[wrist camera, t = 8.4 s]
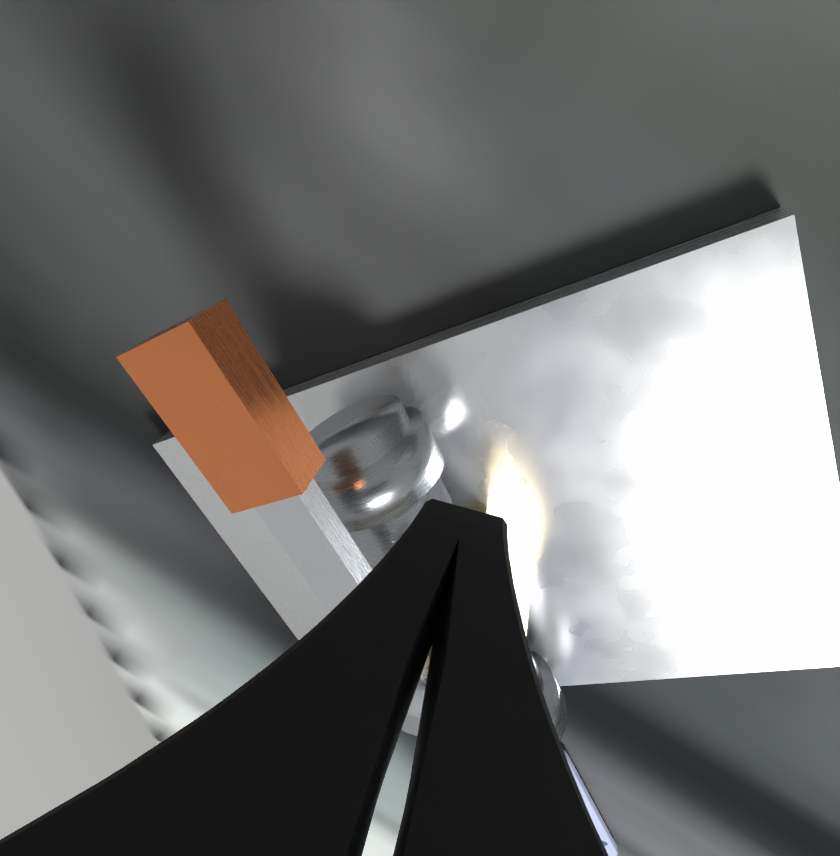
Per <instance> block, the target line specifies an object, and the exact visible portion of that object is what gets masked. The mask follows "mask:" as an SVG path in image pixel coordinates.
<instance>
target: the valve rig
mask: <svg viewBox="0 0 840 856" xmlns="http://www.w3.org/2000/svg"><path fill="white" fill-rule="evenodd" d="M283 392H284V393H285V395H286V396H287V398H288V400H289V401H290V403H291V404H292V406H293V408H294V409H295V411H296V412H297V414H298V416H299V417H300V419H301V420H302V422H303V424H304V425H305V427H306V429H307V430H308V432H309V433H310V435H311V437H312V438H313V440H314V441H315V443H316V445H317V446H318V448H319V449H320V451H321V453H322V454H323V456H324V457H325V459H326V460H325V462H324V463H323V465H322V466H321V468H320V469H319V471H318V472H317V474H316V475H315V477H314V480H315V482H316V483H317V485H318V486H319V488H320V489H321V491H322V492H323V494H324V495H325V497H326V499H327V500H328V502H329V503H330V505H331V506H332V508H333V509H334V511H335V513H336V514H337V516H338V517H339V519H340V520H341V522H342V523H343V525H344V526H345V528H346V530H347V531H348V533H349V534H350V536H351V537H352V539H353V540H354V542H355V544H356V545H357V547H358V548H359V550H360V551H361V553H362V554H363V556H364V557H365V559H366V561H367V562H368V564H369V565H370V567H371V568H372V569H373V568H374V567H375V566H376V565H377V564H378V563H379V562H380V561H381V560H382V558H383V557H384V556H385V555H386V554H387V553H388V552H389V551H390V549H391V548H392V547H393V546H394V545H395V543H396V542H397V541H398V540H399V538H400V537H401V536H402V535H403V534H404V532H405V531H406V530H407V528H408V527H409V526H410V524H411V523H412V522H413V520H414V519H415V517H416V516H417V514H418V513H419V511H420V510H421V508H422V506H423V505H424V503H425V502H426V501H428V500H431V499H436V500H439V501H443V502H447V503H450V504H454V505H458V506H461V507H465V508H469V509H472V510H476V511H480V512H483V513H487V514H491V515H495V516H498V517H502V518H503V519H504V520H505V522H506V523H507V534H508V547H509V556H510V563H511V569H512V575H513V581H514V586H515V591H516V596H517V601H518V605H519V609H520V613H521V617H522V621H523V626H524V630H525V634H526V638H527V641H528V645H529V649H530V652H531V656H532V659H533V663H534V666H535V669H536V672H537V676H538V679H539V682H540V685H541V689H542V692H543V695H544V698H545V701H546V704H547V707H548V710H549V713H550V715H551V718H552V721H553V724H554V727H555V729H556V732H557V735H558V737H559V740H561V738H562V736H563V734H564V731H565V728H566V724H567V705H566V701H565V698H564V695H563V693H562V691H561V689H560V687H559V686H569V685H583V684H597V683H611V682H626V681H640V680H654V679H668V678H682V677H696V676H710V675H724V674H739V673H753V672H767V671H781V670H795V669H809V668H823V667H837V666H840V488H839V482H838V476H837V470H836V464H835V458H834V452H833V446H832V440H831V434H830V428H829V422H828V416H827V410H826V404H825V398H824V392H823V385H822V379H821V373H820V367H819V361H818V355H817V349H816V343H815V337H814V331H813V325H812V319H811V313H810V307H809V301H808V295H807V289H806V283H805V277H804V271H803V265H802V259H801V253H800V247H799V241H798V235H797V229H796V223H795V217H794V214H792V213H791V212H789V211H787V210H786V209H784V208H782V207H779V208H777V209H774V210H771V211H769V212H766V213H763V214H760V215H758V216H755V217H752V218H749V219H747V220H744V221H741V222H739V223H736V224H733V225H730V226H728V227H725V228H722V229H719V230H717V231H714V232H711V233H709V234H706V235H703V236H700V237H698V238H695V239H692V240H689V241H687V242H684V243H681V244H679V245H676V246H673V247H670V248H668V249H665V250H662V251H659V252H657V253H654V254H651V255H649V256H646V257H643V258H640V259H638V260H635V261H632V262H629V263H627V264H624V265H621V266H619V267H616V268H613V269H610V270H608V271H605V272H602V273H599V274H597V275H594V276H591V277H589V278H586V279H583V280H580V281H578V282H575V283H572V284H569V285H567V286H564V287H561V288H559V289H556V290H553V291H550V292H548V293H545V294H542V295H539V296H537V297H534V298H531V299H529V300H526V301H523V302H520V303H518V304H515V305H512V306H509V307H507V308H504V309H501V310H499V311H496V312H493V313H490V314H488V315H485V316H482V317H479V318H477V319H474V320H471V321H469V322H466V323H463V324H460V325H458V326H455V327H452V328H449V329H447V330H444V331H441V332H439V333H436V334H433V335H430V336H428V337H425V338H422V339H419V340H417V341H414V342H411V343H409V344H406V345H403V346H400V347H398V348H395V349H392V350H389V351H387V352H384V353H381V354H379V355H376V356H373V357H370V358H368V359H365V360H362V361H360V362H357V363H354V364H351V365H349V366H346V367H343V368H340V369H338V370H335V371H332V372H330V373H327V374H324V375H321V376H319V377H316V378H313V379H310V380H308V381H305V382H302V383H300V384H297V385H294V386H291V387H289V388H286V389H283ZM153 446H154V448H155V449H156V450H157V452H158V453H159V454H160V456H161V457H162V458H163V460H164V461H165V462H166V464H167V465H168V466H169V468H170V469H171V470H172V472H173V473H174V474H175V476H176V477H177V478H178V480H179V481H180V482H181V484H182V485H183V486H184V488H185V489H186V490H187V492H188V493H189V494H190V496H191V497H192V498H193V500H194V501H195V503H196V504H197V505H198V507H199V508H200V509H201V511H202V512H203V513H204V515H205V516H206V517H207V519H208V520H209V521H210V523H211V524H212V525H213V527H214V528H215V529H216V531H217V532H218V533H219V535H220V536H221V537H222V539H223V540H224V541H225V543H226V544H227V545H228V547H229V548H230V549H231V551H232V552H233V553H234V555H235V556H236V557H237V559H238V560H239V561H240V563H241V564H242V565H243V567H244V568H245V569H246V571H247V572H248V573H249V575H250V576H251V577H252V579H253V580H254V581H255V583H256V584H257V585H258V587H259V588H260V589H261V591H262V592H263V593H264V595H265V596H266V597H267V599H268V600H269V601H270V603H271V604H272V605H273V607H274V608H275V609H276V611H277V612H278V613H279V615H280V616H281V617H282V619H283V620H284V621H285V623H286V624H287V626H288V627H289V628H290V630H291V631H292V632H293V634H294V635H295V636H296V638H297V639H298V640H300V639H301V638H302V637H303V636H305V635H306V634H307V633H308V632H309V631H310V630H311V629H312V628H314V627H315V626H316V625H317V624H318V623H319V622H320V621H321V620H322V619H324V618H325V617H326V616H327V615H328V614H329V612H328V611H327V609H326V608H325V607H324V605H323V604H322V602H321V601H320V600H319V598H318V597H317V595H316V594H315V593H314V591H313V590H312V589H311V587H310V586H309V584H308V583H307V582H306V580H305V579H304V577H303V576H302V575H301V573H300V572H299V570H298V569H297V568H296V566H295V565H294V563H293V562H292V561H291V559H290V558H289V556H288V555H287V554H286V552H285V551H284V549H283V548H282V547H281V545H280V544H279V542H278V541H277V540H276V538H275V537H274V535H273V534H272V533H271V531H270V530H269V528H268V527H267V526H266V524H265V523H264V521H263V520H262V519H261V517H260V516H259V514H258V513H257V512H256V510H255V509H254V508H251V509H248V510H244V511H240V512H237V513H233V514H232V513H231V512H230V511H229V509H228V508H227V507H226V505H225V504H224V503H223V501H222V500H221V498H220V497H219V496H218V494H217V493H216V492H215V490H214V489H213V488H212V486H211V485H210V484H209V482H208V481H207V480H206V478H205V477H204V475H203V474H202V473H201V471H200V470H199V469H198V467H197V466H196V465H195V463H194V462H193V461H192V459H191V458H190V457H189V455H188V454H187V452H186V451H185V450H184V448H183V447H182V446H181V444H180V443H179V442H178V440H177V439H176V438H175V436H174V435H173V434H172V432H171V431H169V432H167V433H166V434H165V435H163V436H162V437H161V438H160V439H159V440H158V441H156V442H155V443H154V444H153ZM431 649H432V647H431ZM429 655H431V650H430V652H429Z"/></svg>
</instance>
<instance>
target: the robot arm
mask: <svg viewBox="0 0 840 856" xmlns="http://www.w3.org/2000/svg"><path fill="white" fill-rule="evenodd" d="M431 647H432V649H431ZM430 650H431V655H430V661H429V668H428V674H427V680H426V686H425V692H424V698H423V704H422V711H421V717H420V723H419V729H418V735H417V742H416V748H415V754H414V760H413V766H412V772H411V779H410V784H409V789H408V794H407V799H406V804H405V809H404V813H403V817H402V822H401V826H400V830H399V834H398V838H397V842H396V846H395V850H394V854H393V856H616V855H617V845H616V844H615V842H614V840H613V838H612V836H611V834H610V832H609V830H608V829H607V827H606V825H605V823H604V821H603V819H602V817H601V815H600V814H599V812H598V810H597V808H596V806H595V804H594V802H593V800H592V799H591V797H590V795H589V793H588V791H587V789H586V787H585V785H584V784H583V782H582V780H581V778H580V776H579V774H578V772H577V770H576V769H575V767H574V765H573V763H572V761H571V759H570V757H569V755H568V754H567V752H566V751H565V750H563V748H562V745H561V743H560V740H559V737H558V735H557V732H556V729H555V727H554V724H553V721H552V718H551V715H550V713H549V710H548V707H547V704H546V701H545V698H544V695H543V692H542V689H541V685H540V682H539V679H538V676H537V672H536V669H535V666H534V663H533V659H532V656H531V652H530V649H529V645H528V641H527V638H526V634H525V630H524V626H523V621H522V617H521V613H520V609H519V605H518V601H517V596H516V591H515V586H514V581H513V575H512V569H511V563H510V556H509V547H508V534H507V523H506V522H505V520H504V519H503V518H502V517H498V516H495V515H491V514H487V513H483V512H480V511H476V510H472V509H469V508H465V507H461V506H458V505H454V504H450V503H447V502H443V501H439V500H436V499H431V500H428V501H426V502H425V503H424V505H423V506H422V508H421V510H420V511H419V513H418V514H417V516H416V517H415V519H414V520H413V522H412V523H411V524H410V526H409V527H408V528H407V530H406V531H405V532H404V534H403V535H402V536H401V537H400V538H399V540H398V541H397V542H396V543H395V545H394V546H393V547H392V548H391V549H390V551H389V552H388V553H387V554H386V555H385V556H384V557H383V558H382V560H381V561H380V562H379V563H378V564H377V565H376V566H375V567H374V568H373V569H372V571H371V572H370V573H369V574H368V575H367V576H366V577H365V578H364V579H363V580H362V581H361V582H360V583H359V585H358V586H357V587H356V588H355V589H353V590H352V591H351V592H350V593H349V594H348V595H347V596H346V597H345V598H344V599H343V600H342V601H341V602H340V603H339V604H338V605H337V606H336V607H335V608H334V609H333V610H332V611H331V612H330V613H329V614H328V615H327V616H326V617H325V618H324V619H322V620H321V621H320V622H319V623H318V624H317V625H316V626H315V627H314V628H312V629H311V630H310V631H309V632H308V633H307V634H306V635H305V636H303V637H302V638H301V639H300V640H299V641H298V642H296V643H295V644H294V645H293V646H292V647H291V648H289V649H288V650H287V651H286V652H284V653H283V654H282V655H281V656H280V657H278V658H277V659H276V660H275V661H274V662H272V663H271V664H270V665H269V666H267V667H266V668H265V669H263V670H262V671H261V672H260V673H258V674H257V675H256V676H254V677H253V678H252V679H250V680H249V681H248V682H246V683H245V684H244V685H242V686H241V687H240V688H239V689H237V690H236V691H235V692H233V693H232V694H231V695H229V696H228V697H227V698H225V699H224V700H223V701H221V702H220V703H218V704H217V705H216V706H214V707H213V708H211V709H210V710H209V711H207V712H206V713H204V714H203V715H202V716H200V717H199V718H197V719H196V720H194V721H193V722H191V723H190V724H188V725H187V726H185V727H184V728H182V729H181V730H179V731H178V732H176V733H175V734H173V735H172V736H170V737H169V738H167V739H166V740H164V741H163V742H161V743H159V744H158V745H157V746H155V747H154V748H152V749H150V750H149V751H147V752H146V753H144V754H143V755H141V756H140V757H138V758H137V759H135V760H134V761H132V762H131V763H130V764H128V765H126V766H125V767H123V768H122V769H120V770H118V771H117V772H115V773H113V774H112V775H110V776H109V777H107V778H105V779H104V780H102V781H100V782H99V783H97V784H96V785H94V786H92V787H90V788H89V789H87V790H85V791H83V792H82V793H80V794H78V795H77V796H75V797H73V798H72V799H70V800H68V801H66V802H65V803H63V804H61V805H59V806H58V807H56V808H54V809H53V810H51V811H49V812H47V813H46V814H44V815H42V816H41V817H39V818H37V819H35V820H34V821H32V822H30V823H29V824H27V825H25V826H24V827H22V828H20V829H18V830H17V831H15V832H13V833H11V834H10V835H8V836H6V837H4V838H3V839H1V840H0V856H362V852H363V849H364V845H365V841H366V838H367V834H368V831H369V827H370V823H371V820H372V816H373V813H374V809H375V805H376V802H377V799H378V795H379V792H380V789H381V786H382V783H383V780H384V777H385V774H386V771H387V768H388V765H389V762H390V760H391V757H392V754H393V751H394V749H395V746H396V743H397V740H398V738H399V735H400V732H401V729H402V727H403V724H404V721H405V718H406V716H407V713H408V710H409V707H410V705H411V702H412V699H413V696H414V694H415V691H416V688H417V685H418V683H419V680H420V677H421V674H422V672H423V669H424V666H425V663H426V661H427V658H428V655H429V652H430Z"/></svg>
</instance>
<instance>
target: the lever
mask: <svg viewBox="0 0 840 856" xmlns="http://www.w3.org/2000/svg"><path fill="white" fill-rule="evenodd" d="M116 358H117V359H118V360H119V362H120V363H121V364H122V366H123V367H124V369H125V370H126V371H127V373H128V374H129V375H130V377H131V378H132V379H133V381H134V382H135V383H136V385H137V386H138V387H139V389H140V390H141V392H142V393H143V394H144V396H145V397H146V398H147V400H148V401H149V402H150V404H151V405H152V406H153V408H154V409H155V410H156V412H157V413H158V415H159V416H160V417H161V419H162V420H163V421H164V423H165V424H166V425H167V427H168V428H169V429H170V431H171V432H172V434H173V435H174V436H175V438H176V439H177V440H178V442H179V443H180V444H181V446H182V447H183V448H184V450H185V451H186V452H187V454H188V455H189V457H190V458H191V459H192V461H193V462H194V463H195V465H196V466H197V467H198V469H199V470H200V471H201V473H202V474H203V475H204V477H205V478H206V480H207V481H208V482H209V484H210V485H211V486H212V488H213V489H214V490H215V492H216V493H217V494H218V496H219V497H220V498H221V500H222V501H223V503H224V504H225V505H226V507H227V508H228V509H229V511H230V512H231V513H232V514H233V513H237V512H240V511H244V510H248V509H251V508H254V509H255V510H256V512H257V513H258V514H259V516H260V517H261V519H262V520H263V521H264V523H265V524H266V526H267V527H268V528H269V530H270V531H271V533H272V534H273V535H274V537H275V538H276V540H277V541H278V542H279V544H280V545H281V547H282V548H283V549H284V551H285V552H286V554H287V555H288V556H289V558H290V559H291V561H292V562H293V563H294V565H295V566H296V568H297V569H298V570H299V572H300V573H301V575H302V576H303V577H304V579H305V580H306V582H307V583H308V584H309V586H310V587H311V589H312V590H313V591H314V593H315V594H316V595H317V597H318V598H319V600H320V601H321V602H322V604H323V605H324V607H325V608H326V609H327V611H328V612H329V613H330V612H331V611H332V610H333V609H334V608H335V607H336V606H337V605H338V604H339V603H340V602H341V601H342V600H343V599H344V598H345V597H346V596H347V595H348V594H349V593H350V592H351V591H352V590H353V589H355V588H356V587H357V586H358V585H359V583H360V582H361V581H362V580H363V579H364V578H365V577H366V576H367V575H368V574H369V573H370V572H371V571H372V568H371V567H370V565H369V564H368V562H367V561H366V559H365V557H364V556H363V554H362V553H361V551H360V550H359V548H358V547H357V545H356V544H355V542H354V540H353V539H352V537H351V536H350V534H349V533H348V531H347V530H346V528H345V526H344V525H343V523H342V522H341V520H340V519H339V517H338V516H337V514H336V513H335V511H334V509H333V508H332V506H331V505H330V503H329V502H328V500H327V499H326V497H325V495H324V494H323V492H322V491H321V489H320V488H319V486H318V485H317V483H316V482H315V480H314V477H315V475H316V474H317V472H318V471H319V469H320V468H321V466H322V465H323V463H324V462H325V460H326V459H325V457H324V456H323V454H322V453H321V451H320V449H319V448H318V446H317V445H316V443H315V441H314V440H313V438H312V437H311V435H310V433H309V432H308V430H307V429H306V427H305V425H304V424H303V422H302V420H301V419H300V417H299V416H298V414H297V412H296V411H295V409H294V408H293V406H292V404H291V403H290V401H289V400H288V398H287V396H286V395H285V393H284V392H283V390H282V388H281V387H280V385H279V384H278V382H277V380H276V379H275V377H274V376H273V374H272V372H271V371H270V369H269V368H268V366H267V364H266V363H265V361H264V360H263V358H262V356H261V355H260V353H259V352H258V350H257V348H256V347H255V345H254V344H253V342H252V340H251V339H250V337H249V336H248V334H247V332H246V331H245V329H244V327H243V326H242V324H241V323H240V321H239V319H238V318H237V316H236V315H235V313H234V311H233V310H232V308H231V307H230V305H229V303H228V302H227V300H226V299H224V300H222V301H220V302H218V303H216V304H214V305H212V306H210V307H208V308H206V309H204V310H202V311H200V312H198V313H196V314H194V315H192V316H190V317H188V318H186V319H184V320H182V321H180V322H178V323H176V324H174V325H172V326H170V327H168V328H166V329H164V330H162V331H160V332H158V333H156V334H155V335H153V336H151V337H150V338H148V339H146V340H144V341H143V342H141V343H139V344H138V345H136V346H134V347H133V348H131V349H129V350H128V351H126V352H124V353H122V354H121V355H119V356H117V357H116ZM429 661H430V655H428V658H427V661H426V663H425V666H424V669H423V672H422V674H421V677H420V680H419V683H418V685H417V688H416V691H415V694H414V696H413V699H412V702H411V705H410V707H409V710H408V713H407V716H406V718H405V721H404V724H403V727H402V729H401V730H402V731H404V732H406V733H409V734H412V735H415V736H417V735H418V729H419V723H420V717H421V711H422V704H423V698H424V692H425V686H426V680H427V674H428V668H429Z"/></svg>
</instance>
